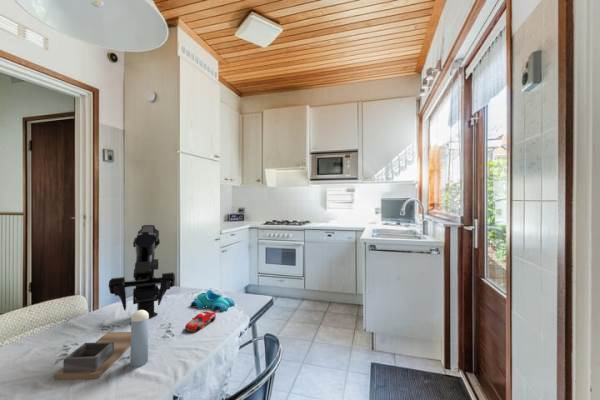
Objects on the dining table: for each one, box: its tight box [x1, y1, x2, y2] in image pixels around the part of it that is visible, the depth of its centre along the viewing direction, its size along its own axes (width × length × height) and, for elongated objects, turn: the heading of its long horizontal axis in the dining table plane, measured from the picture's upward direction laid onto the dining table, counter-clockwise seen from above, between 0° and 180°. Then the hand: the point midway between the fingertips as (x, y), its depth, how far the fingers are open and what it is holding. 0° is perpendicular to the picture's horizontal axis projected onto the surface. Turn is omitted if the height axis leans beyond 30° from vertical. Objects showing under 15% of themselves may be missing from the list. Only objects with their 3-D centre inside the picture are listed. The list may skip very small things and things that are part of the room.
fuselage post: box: [129, 310, 150, 368], centre depth 77 cm, size 4×4×15 cm
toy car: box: [190, 289, 236, 312], centre depth 118 cm, size 11×18×7 cm, turn 73°
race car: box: [184, 310, 217, 333], centre depth 100 cm, size 13×5×4 cm, turn 158°
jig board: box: [53, 331, 131, 381], centre depth 80 cm, size 22×11×5 cm, turn 5°
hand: (142, 307), depth 83 cm, fingers open, 9 cm apart
